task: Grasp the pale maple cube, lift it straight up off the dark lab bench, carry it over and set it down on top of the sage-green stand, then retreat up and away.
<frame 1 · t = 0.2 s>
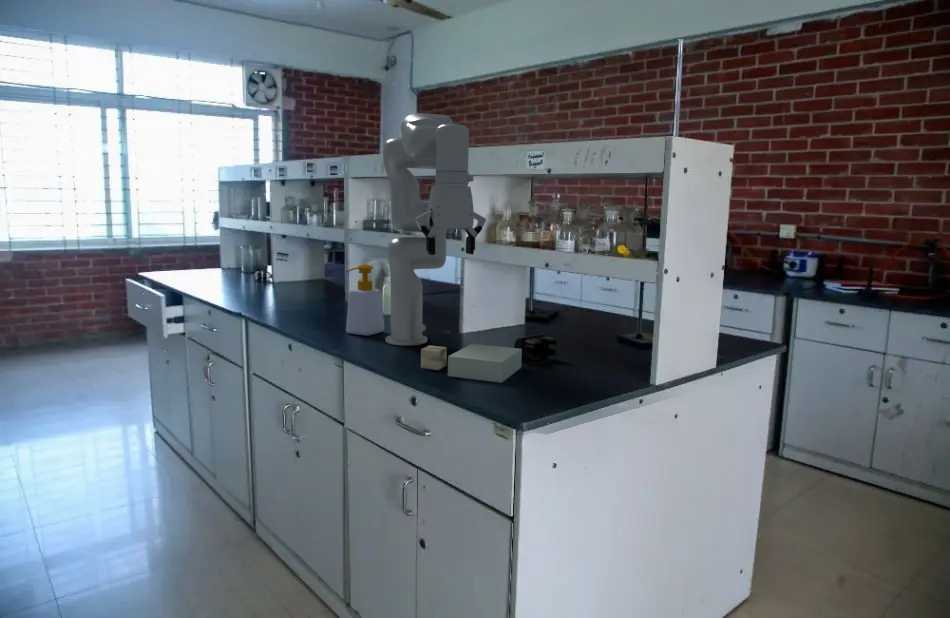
hand: (450, 254, 157), 30 cm above the countertop, tool pointing down, fingers open, 9 cm apart
soap bottle: (361, 334, 213), on the countertop
end cap: (535, 360, 184), on the countertop
sage stand: (485, 371, 170), on the countertop
maple cube: (433, 367, 174), on the countertop
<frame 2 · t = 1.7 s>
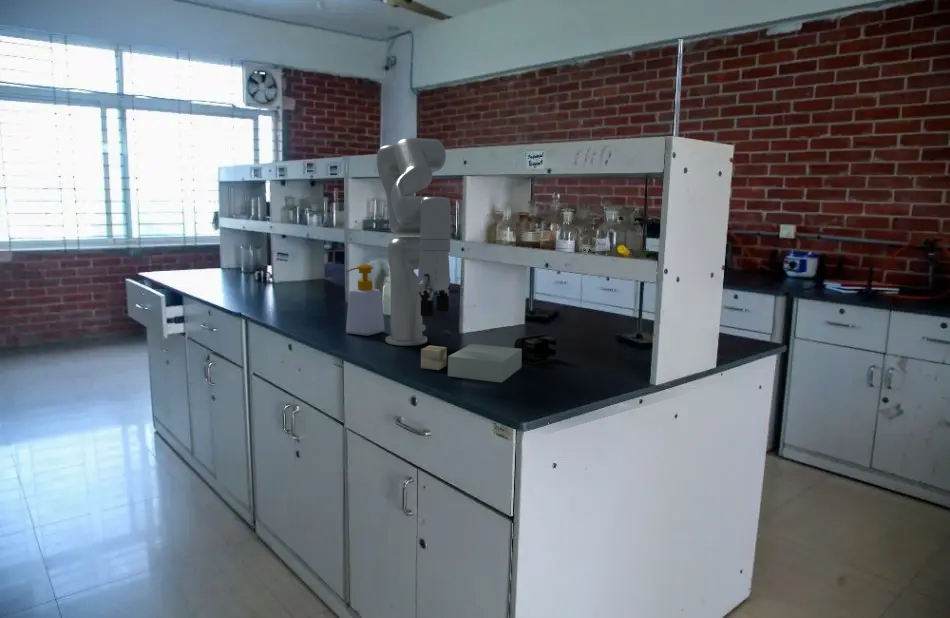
hand: (434, 313, 171), 14 cm above the countertop, tool pointing down, fingers open, 9 cm apart
nothing on the countertop moved.
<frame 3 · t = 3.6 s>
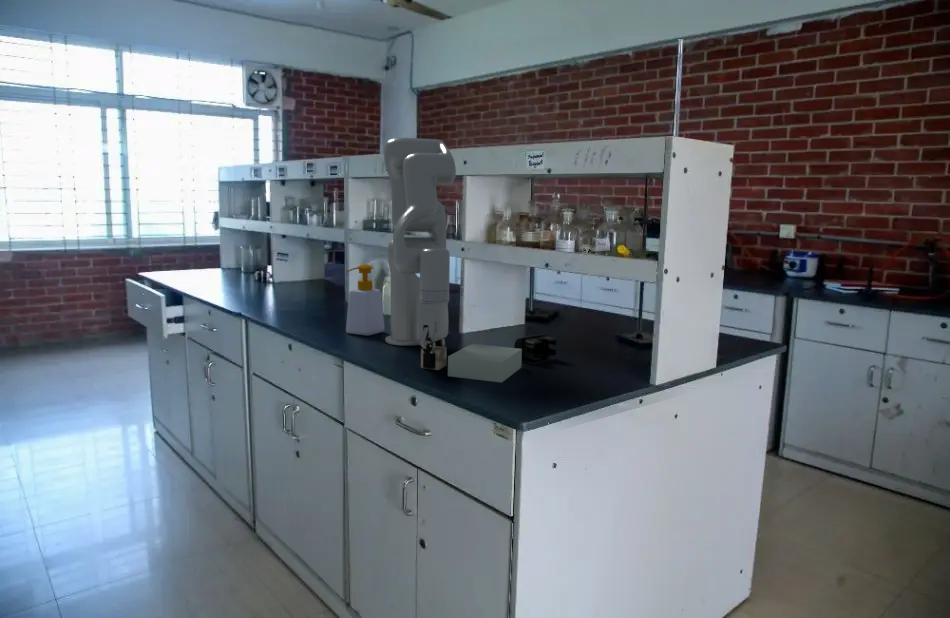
hand: (433, 364, 174), 0 cm above the countertop, tool pointing down, fingers closed on maple cube, 5 cm apart
maple cube: (433, 366, 174), on the countertop, touching gripper
everything else where it was.
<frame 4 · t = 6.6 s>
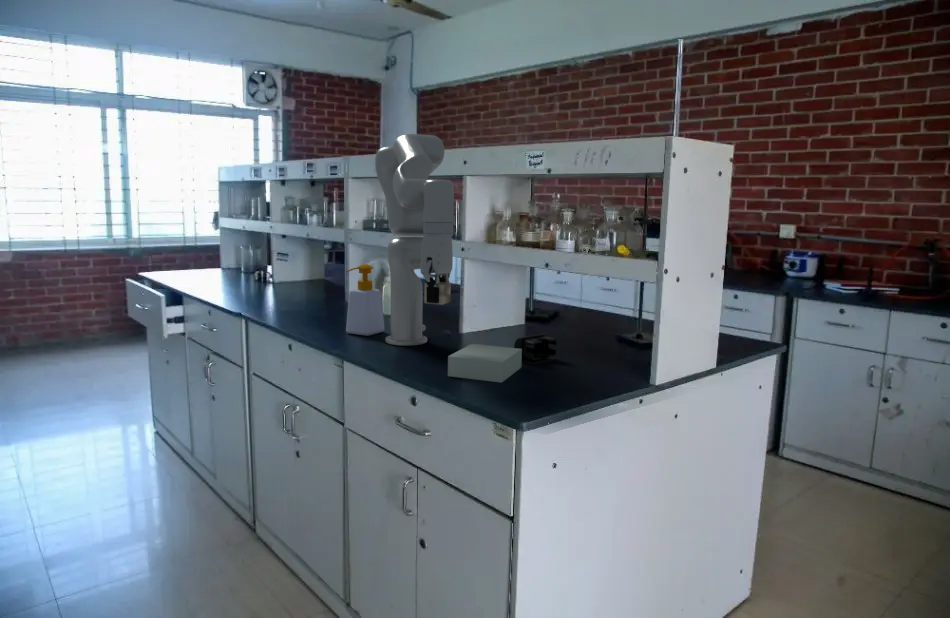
hand: (437, 300, 171), 17 cm above the countertop, tool pointing down, fingers closed on maple cube, 4 cm apart
maple cube: (437, 302, 171), point 17 cm above the countertop, touching gripper
everything else where it was.
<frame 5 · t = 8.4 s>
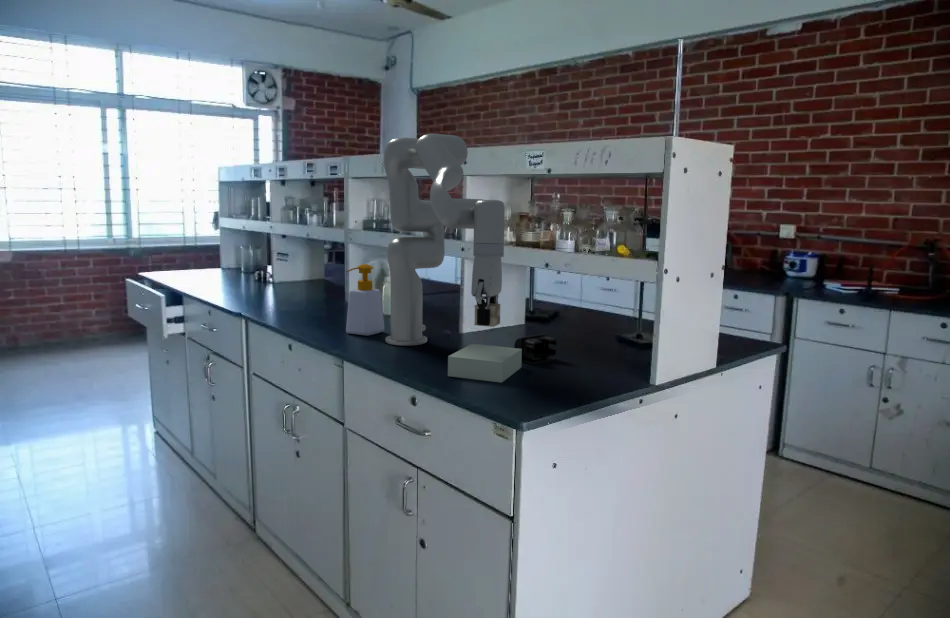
hand: (487, 322, 168), 13 cm above the countertop, tool pointing down, fingers closed on maple cube, 4 cm apart
maple cube: (487, 324, 168), point 12 cm above the countertop, touching gripper
everything else where it was.
when the fingers open (7 cm above the countertop, at t = 9.8 s): maple cube drops 1 cm, resting on sage stand.
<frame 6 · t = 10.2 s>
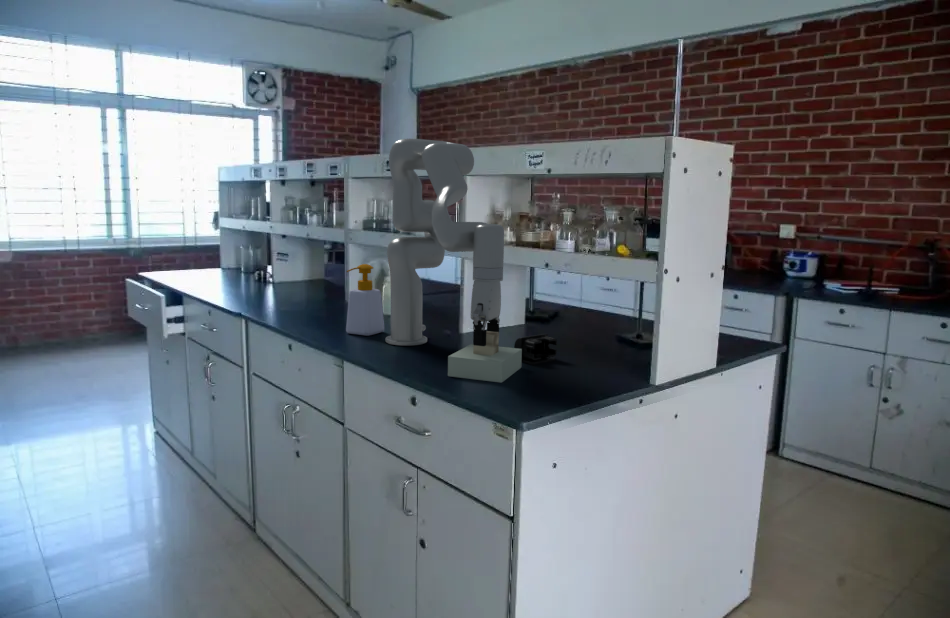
hand: (486, 341, 169), 8 cm above the countertop, tool pointing down, fingers open, 9 cm apart
maple cube: (485, 352, 169), point 5 cm above the countertop, touching sage stand
everything else where it was.
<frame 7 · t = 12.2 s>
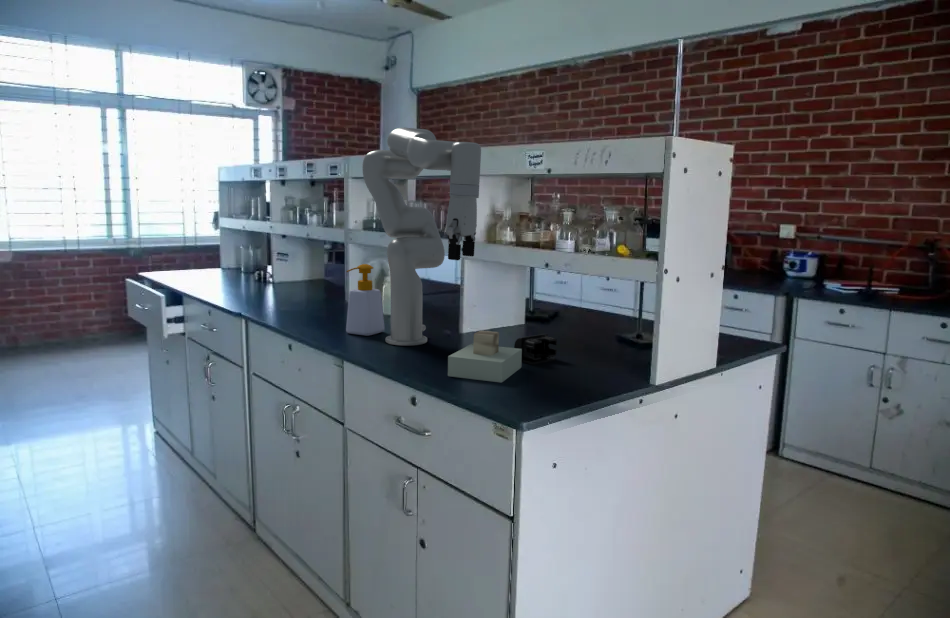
hand: (461, 257, 176), 28 cm above the countertop, tool pointing down, fingers open, 9 cm apart
nothing on the countertop moved.
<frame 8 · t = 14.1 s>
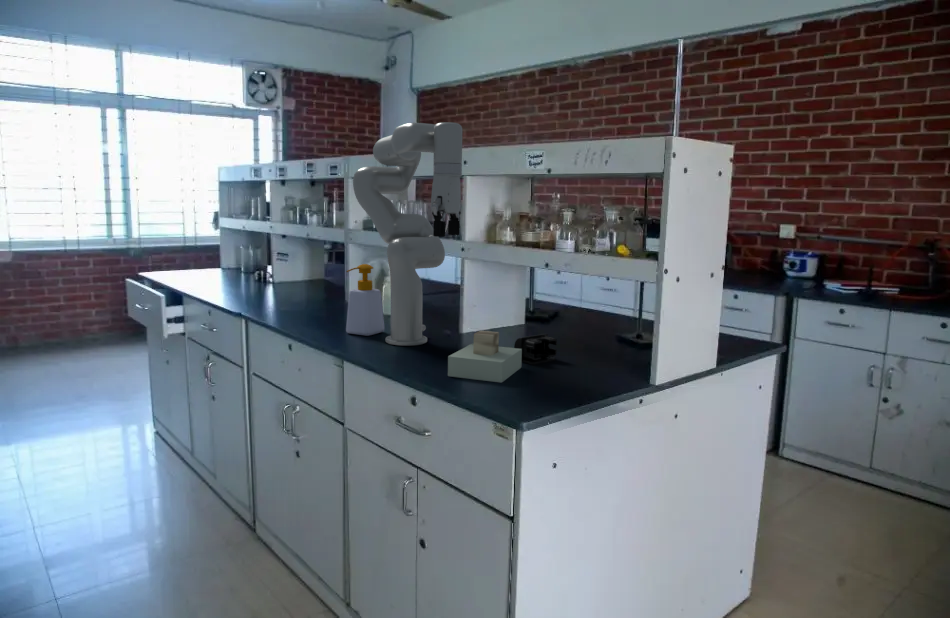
hand: (446, 235, 181), 33 cm above the countertop, tool pointing down, fingers open, 9 cm apart
nothing on the countertop moved.
at the end: maple cube inside the target area on the sage stand (0.0 cm from its centre), point 5.0 cm above the sage stand's base; the gripper is holding nothing; maple cube tilted 0° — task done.
